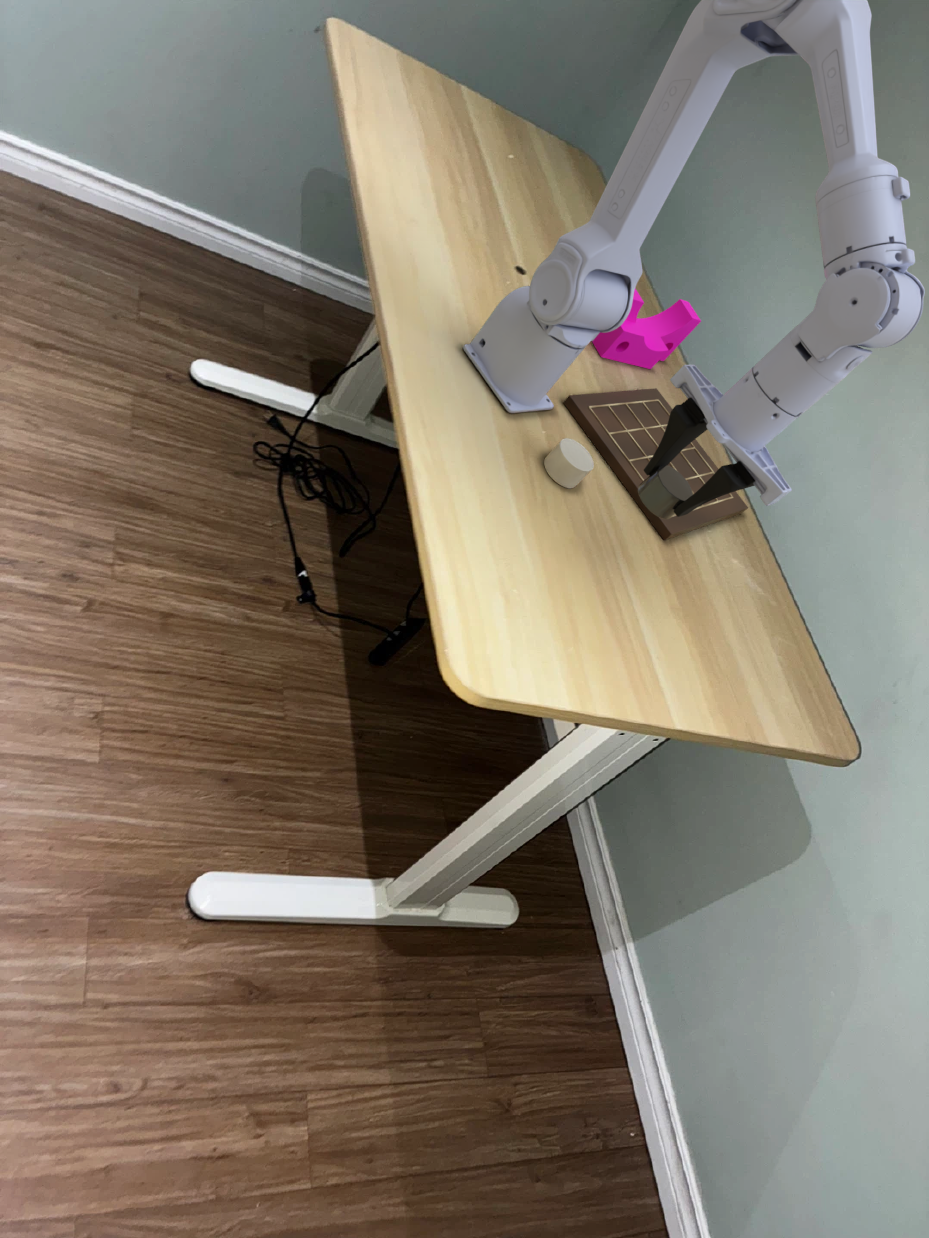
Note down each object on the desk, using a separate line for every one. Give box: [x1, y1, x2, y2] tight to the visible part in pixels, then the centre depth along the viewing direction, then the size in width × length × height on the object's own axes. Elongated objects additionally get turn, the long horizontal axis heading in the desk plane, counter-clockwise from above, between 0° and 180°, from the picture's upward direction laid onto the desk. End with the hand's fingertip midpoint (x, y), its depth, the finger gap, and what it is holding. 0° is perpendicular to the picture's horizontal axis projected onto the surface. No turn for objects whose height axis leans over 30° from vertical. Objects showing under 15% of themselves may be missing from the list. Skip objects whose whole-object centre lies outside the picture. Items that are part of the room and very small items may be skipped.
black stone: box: [638, 465, 693, 519], centre depth 78 cm, size 4×4×3 cm
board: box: [563, 387, 749, 541], centre depth 98 cm, size 20×20×1 cm
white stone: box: [543, 437, 595, 489], centre depth 85 cm, size 4×4×3 cm
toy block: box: [591, 288, 702, 370], centre depth 109 cm, size 15×6×8 cm, turn 115°
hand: (665, 491), depth 78 cm, fingers closed on black stone, 4 cm apart
